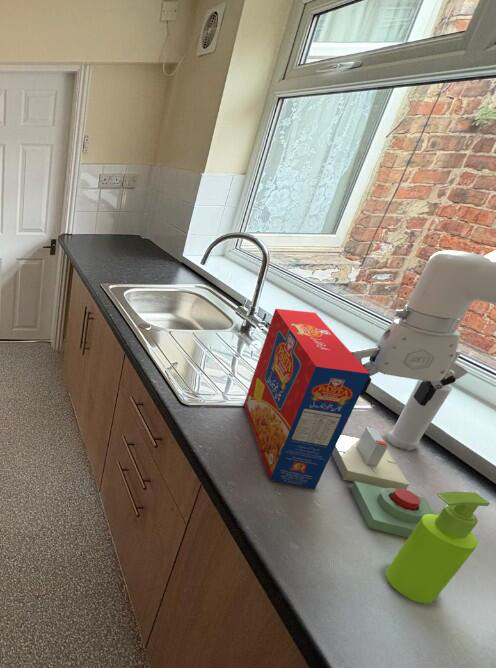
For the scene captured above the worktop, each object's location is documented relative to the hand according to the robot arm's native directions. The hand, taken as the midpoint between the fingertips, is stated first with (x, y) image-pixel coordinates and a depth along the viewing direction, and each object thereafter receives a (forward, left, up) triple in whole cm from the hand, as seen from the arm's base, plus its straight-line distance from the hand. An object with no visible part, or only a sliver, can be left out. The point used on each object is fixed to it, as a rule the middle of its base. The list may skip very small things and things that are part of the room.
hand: (388, 396), depth 84 cm
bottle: (-12, -11, -18) cm, 24 cm away
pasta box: (+15, -1, -18) cm, 23 cm away
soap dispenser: (+2, +31, -18) cm, 35 cm away
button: (-2, +15, -14) cm, 20 cm away
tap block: (-1, +1, -18) cm, 18 cm away
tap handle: (-1, +1, -15) cm, 15 cm away
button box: (-2, +15, -18) cm, 23 cm away
